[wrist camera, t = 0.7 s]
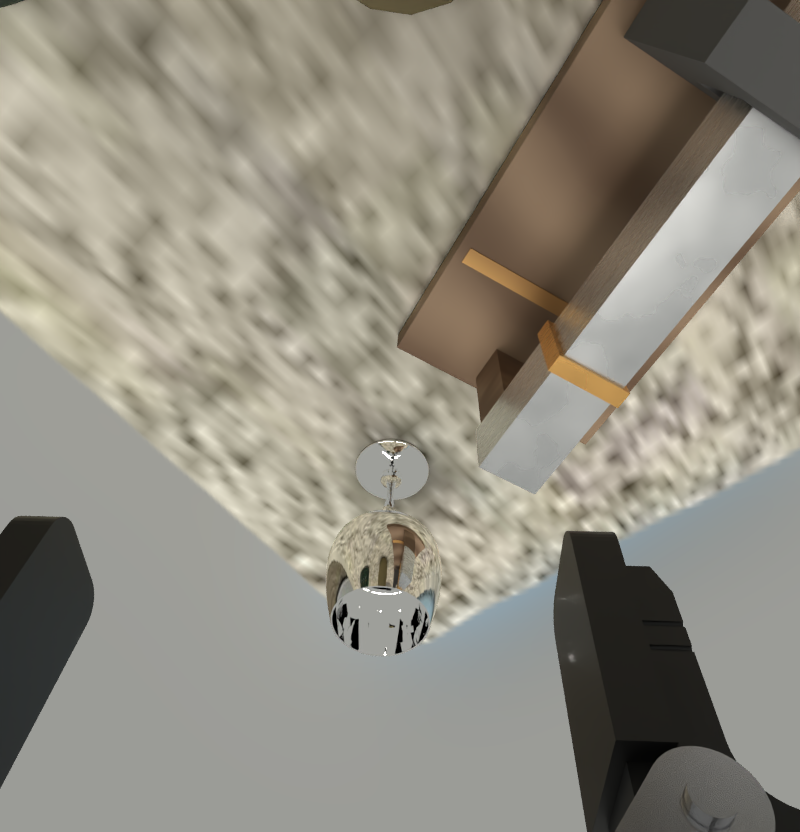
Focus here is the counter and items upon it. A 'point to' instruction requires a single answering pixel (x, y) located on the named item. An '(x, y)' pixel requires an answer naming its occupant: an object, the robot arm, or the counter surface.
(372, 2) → the squeeze bottle
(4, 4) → the coffee jar
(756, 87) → the dark grey flat piece
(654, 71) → the board
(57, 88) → the counter surface
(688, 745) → the robot arm
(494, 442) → the grey square bar
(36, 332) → the counter surface
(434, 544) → the wineglass
